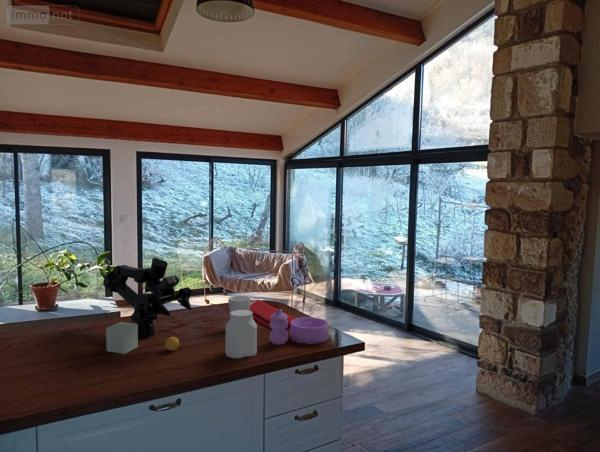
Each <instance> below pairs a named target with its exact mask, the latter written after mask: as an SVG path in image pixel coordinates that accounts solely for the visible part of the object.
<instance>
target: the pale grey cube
mask: <svg viewBox="0 0 600 452" xmlns="http://www.w3.org/2000/svg"><path fill="white" fill-rule="evenodd" d="M105 333H106V334H105V337H106V338H105V339H106V340H105V341H106V342H105V343H106V344H105V345H106V352H107V351H108V352H109V353H114V352H115V354H122V355H126V354H127V353H129V352H130V351H132V350H135V349H136V348H138V347H139V343H138V342H139V339H138V338H139V337H138V324H135V323H134V322H132V323H131V322H124V321H123V322H122V321H119V322H116V323H115V324H112V325H110V326H107V327H105ZM108 352H107V353H108Z"/></svg>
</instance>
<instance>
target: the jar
mask: <svg viewBox="0 0 600 452" xmlns="http://www.w3.org/2000/svg"><path fill="white" fill-rule="evenodd" d="M224 328H225V329H224V330H225V350H224V352H225V355H226V356H227V357H228V358H231V359H242V358H245V357H246V358H247V357H252V356H256V355H257V353H258V348H257V344H258V341H257V340H258V339H257V337H258V324H257V323H256V321H255V320H253V312H252V311H249V310H235V311H232V312H230V311H229V320H228V321H227V323H226V324H225V326H224Z"/></svg>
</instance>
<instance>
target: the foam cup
mask: <svg viewBox="0 0 600 452" xmlns="http://www.w3.org/2000/svg"><path fill="white" fill-rule="evenodd" d="M227 299H228V306H229V313H230V312H232V311H235V310H249V308H250V304H251V300H252V299H251V297H250V296H248V295H233V296H229V297H228V298H227Z"/></svg>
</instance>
